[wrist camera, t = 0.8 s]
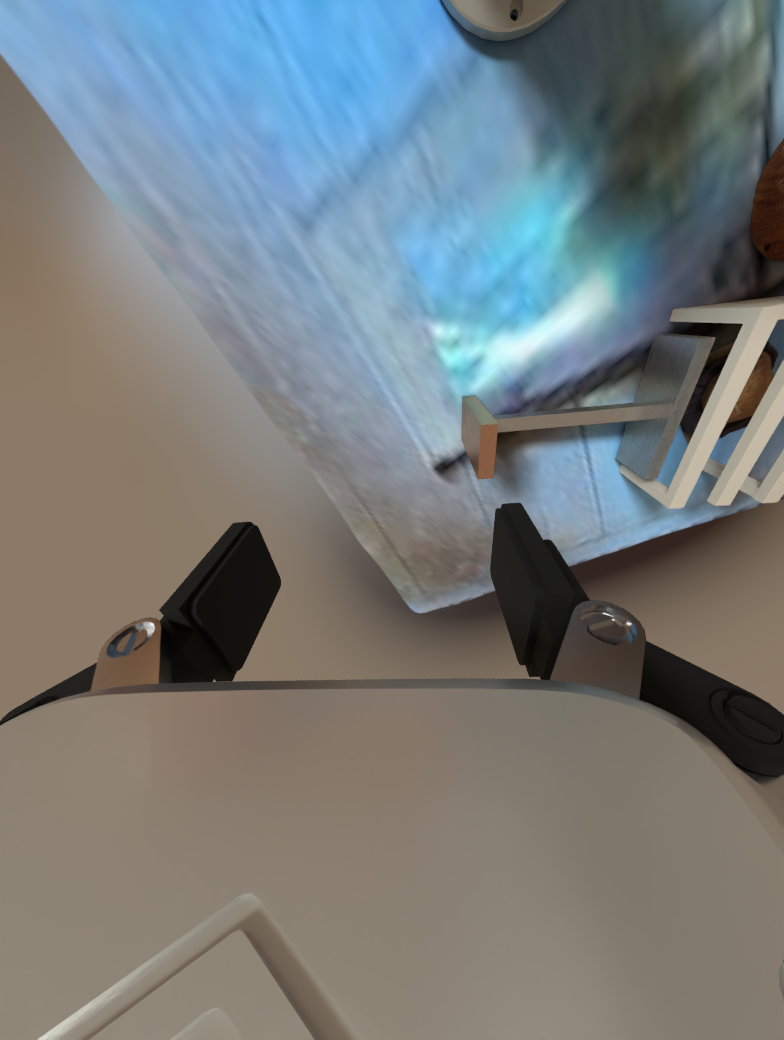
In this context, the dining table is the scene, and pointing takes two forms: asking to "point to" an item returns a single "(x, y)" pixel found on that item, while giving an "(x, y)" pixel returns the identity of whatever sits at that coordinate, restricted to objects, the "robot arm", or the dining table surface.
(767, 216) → the bread roll
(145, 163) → the dining table surface
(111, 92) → the dining table surface
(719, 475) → the white slatted rack
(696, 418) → the bread roll
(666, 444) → the rod with wooden block
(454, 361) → the dining table surface
